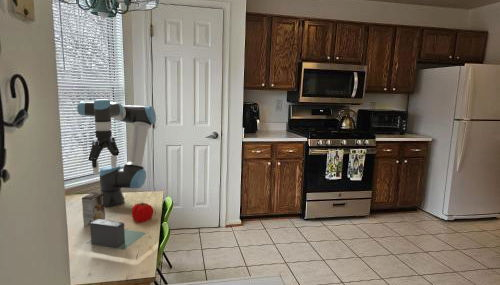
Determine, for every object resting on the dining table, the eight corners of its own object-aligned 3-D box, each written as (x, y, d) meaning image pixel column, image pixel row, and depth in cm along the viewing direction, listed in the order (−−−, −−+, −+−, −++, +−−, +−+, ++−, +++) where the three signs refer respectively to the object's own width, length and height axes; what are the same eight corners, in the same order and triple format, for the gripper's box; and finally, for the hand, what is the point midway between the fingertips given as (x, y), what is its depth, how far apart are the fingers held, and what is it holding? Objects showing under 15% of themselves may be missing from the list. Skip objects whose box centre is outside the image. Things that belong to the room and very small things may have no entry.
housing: (99, 238, 154) (97, 218, 152) (124, 243, 150) (124, 222, 149) (91, 243, 149) (90, 222, 148) (117, 248, 146) (116, 227, 144)
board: (112, 230, 167) (111, 218, 166) (146, 235, 162) (146, 224, 161) (85, 246, 150) (85, 233, 149) (123, 252, 145) (123, 240, 144)
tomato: (129, 226, 173) (129, 207, 171) (134, 216, 185) (133, 199, 183) (152, 225, 174) (151, 206, 173) (155, 216, 187) (154, 198, 185)
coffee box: (95, 220, 179) (93, 192, 176) (105, 221, 178) (104, 193, 175) (83, 227, 170) (81, 197, 167) (94, 228, 169) (92, 198, 166)
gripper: (113, 126, 181) (114, 164, 184) (78, 132, 157) (81, 175, 161) (125, 127, 179) (126, 165, 182) (91, 133, 155) (94, 177, 159)
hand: (105, 170), depth 171 cm, fingers open, 13 cm apart
